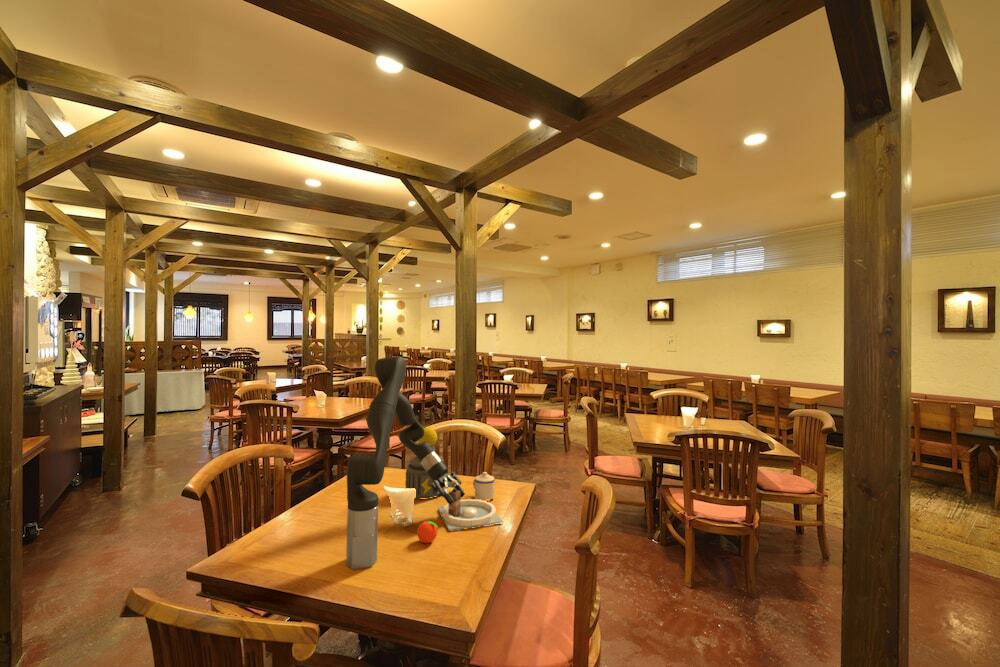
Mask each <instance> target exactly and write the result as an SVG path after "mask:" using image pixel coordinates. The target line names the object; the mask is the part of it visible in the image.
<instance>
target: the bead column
mask: <svg viewBox="0 0 1000 667" xmlns="http://www.w3.org/2000/svg"><path fill="white" fill-rule="evenodd" d="M448 493H449V494H450V496H451V497H452V499H453V500H454V502H453V503H452V504H449V503H448V504H449V509H448V514H450V515H452V516H453V517H459V516H460V502H461V500H462V499H461V498H462V497H461V491H459V490H457V489H456V488H452V490H450V491H448Z"/></svg>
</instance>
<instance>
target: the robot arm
mask: <svg viewBox="0 0 1000 667" xmlns="http://www.w3.org/2000/svg"><path fill="white" fill-rule="evenodd" d="M374 373H375V376H376V378H377V381H378V382H379V384H380V386H381V387H382V389H381V390H380V391H379V392H378V393H377V394H376V395H375V397H373V399H372V400H371V402H370V405H369V408H368V411H367V414H366V420H365V421H366V425H367V428H368V431H369V432H370V434H371V436H372V438H373V441H374V443H375V451H374V453H356V454H351V456H350V457H349V459H348V462H347V465H346V466H347V467H346V488H347V489H346V491H347V492H346V498H347V519H346V520H347V521H346V546H345V548H346V551H345V552H346V554H345V555H346V560H345V561H346V562H345V565H346V566H347V567H348V568H349V569H350V571H351V570H359V569H365V568H372V567H373V566H374V564H376V562H377V560H378V533H379V530H378V528H379V521H378V520H379V496H378V494H377V493H376V492H373V491H371V490H369V489H367V488H366V487H364V486H363V485H365V486H366V485H367V486H368V485H369V486H370V485H371V486H373V485H379V484H380V483H381V482H382V479H383V477H384V473H385V468H386V463H387V462H386V461H387V460H386V459H387V453H388V446H389V442H390V441H389V440H390V437H391V432H392V428H393V424H394V421H395V417H396V419H397V422H398V424H399V425H400V426H401V427H406V428H404V429H403V430H400V432H399V434H398V439H399V441H400V443H401V444H402V445H403V446H405V447H406V448H407V449H408V450H409V451H411V452H412V453H413V454H414V455H415V456H417V458H418V459H419V461H420V462H421V464H422V466H423V468H424V469H425V471H426V472H427V473H428V475H429V476H430V478H431V479H432V481H434V482H433V483H432V484H431V486H432V487H433V489H434V490H435V492H436V493H437V495H438V497H437V498H441V497H442V498H444V500H445V501H446V502H447V504H452V503H453V502H454V500H453V499H452V497H451V496H450V494H449V491H448V488H450V489H454V488H456V489H457V490H459V491H461V498H463V497H464V496H465V495H466V493H465V491H464V489H463V488H462V487H461V485H462V481H461V480H460V478H459V477H458V475H457V474H456V473H455V471H452V472H450V473H449V472H448V471H449V470H448V469H449V468H448V467H447V465H446V464H445V462H443V461H442V460H441V458H440V457H439V456H440V455H439V454H437V453H436V450H435V451H434V450H433V448H432V447H431V446H430V444H429V443H428V442H423V443H420V444H419V443H416V442H418V440H419V439H421V438H422V437H423V436H424V428H425V427H423V426H422V425H421V423H420V421H419V420H418V419H417V417H416V415H415V413H414V409H413V406H412V403H411V402H410V400H409V399H408V398H407V397H406V396H404V393H403V394H402V393H401V389H402V386H403V383H404V380H405V377H406V373H407V363H406V360H405V358H404V357H403V356H400V355H396V356H395V355H394V356H389V357H382V358H378V359H377V360H376V361H375V363H374ZM438 490H440V493H439V491H438Z"/></svg>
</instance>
